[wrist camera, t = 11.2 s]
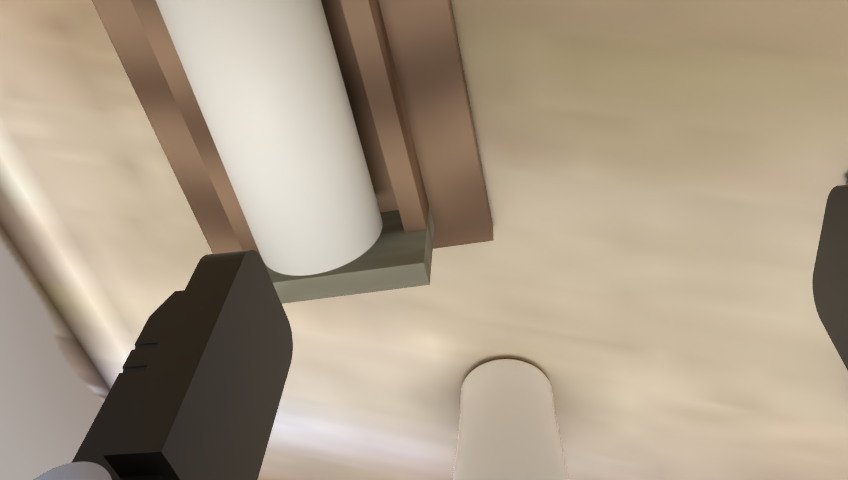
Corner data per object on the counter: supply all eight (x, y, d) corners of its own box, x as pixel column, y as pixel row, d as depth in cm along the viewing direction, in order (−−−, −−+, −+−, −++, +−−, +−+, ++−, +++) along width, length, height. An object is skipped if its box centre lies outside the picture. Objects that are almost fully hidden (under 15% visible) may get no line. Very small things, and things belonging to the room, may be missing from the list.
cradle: (48, -130, 27) (-40, -102, 22) (408, -222, 24) (392, -210, 20) (230, 262, 37) (196, 336, 33) (492, 226, 35) (495, 299, 30)
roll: (176, -58, 27) (115, -16, 22) (314, -87, 26) (280, -49, 21) (278, 214, 34) (249, 288, 29) (390, 199, 33) (376, 273, 28)
